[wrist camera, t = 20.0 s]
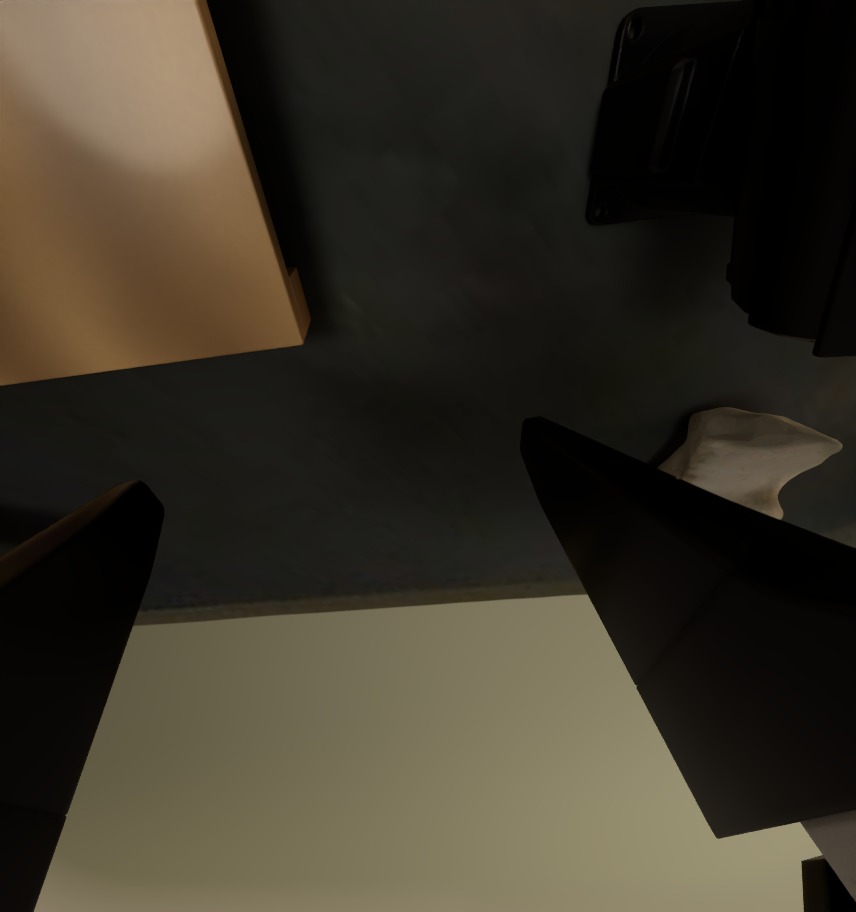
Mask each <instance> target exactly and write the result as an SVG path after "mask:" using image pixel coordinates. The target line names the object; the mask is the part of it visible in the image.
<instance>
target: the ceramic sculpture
mask: <svg viewBox="0 0 856 912" xmlns="http://www.w3.org/2000/svg"><path fill="white" fill-rule="evenodd" d="M841 449H842V444H841V443H840V442H839V441H838V440H836V439H833V438H831V437H828V436H826V435H824V434H822V433H820V432H817V431H815V430H813V429H811V428H809V427H806V426H804V425H801V424H799V423H797V422H795V421H792V420H790V419H788V418H786V417H784V416H776V415H771V414H762V413H752V412H748V411H744V410H740V409H736V408H731V407H721V408H715V409H711V410H707V411H701V412H697V413H694V414H693V415H692V416H691V417H690V420H689V424H688V435H687V439H686V441H685V442H684V444H683V445H681V446H680V447H679V448H678V449H677V450H676V451H675V452H674V453H673V454H672V455H671V456H670V457H669V458H668V459H667V460H666V461H664V462H663V463H662V464H661V465H660V466H658V467H657V469H660V470H662V471H664V472H666V473H669V474H671V475H673V476H675V477H676V478H677V479H682V480H684V481H687V482H689V483H691V484H693V485H695V486H698V487H700V488H702V489H705V490H707V491H709V492H712V493H714V494H716V495H719V496H721V497H723V498H726V499H728V500H731V501H733V502H736V503H738V504H741V505H743V506H746V507H748V508H751V509H753V510H756V511H759V512H761V513H764V514H766V515H769V516H772V517H774V518H777V519H779V520H781V519H782V517H783V510H782V508H781V506H780V504H779V502H778V498H777V496H778V493H779V491H780V489H781V488H782V486H783V485H784V484H785V483H787V482H788V481H789V480H790V479H792V478H793V477H795V476H796V475H798V474H799V473H801V472H803V471H806V470H808V469H810V468H812V467H815V466H817V465H819V464H821V463H822V462H823V461H824V460H825V459H827V458H828V457H829V456H830V455H832V454H835V453H837V452H839V451H840V450H841Z"/></svg>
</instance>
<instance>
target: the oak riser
mask: <svg viewBox="0 0 856 912" xmlns="http://www.w3.org/2000/svg"><path fill="white" fill-rule="evenodd" d="M310 321H311V317H310V314H309V310H308V306H307V303H306V299H305V296H304V292H303V289H302V285H301V282H300V278H299V274H298V271H297V268H296V267H291V268H286V266H285V263H284V259H283V256H282V253H281V249H280V246H279V243H278V239H277V236H276V233H275V229H274V226H273V223H272V219H271V216H270V213H269V209H268V206H267V202H266V199H265V196H264V192H263V189H262V186H261V182H260V179H259V176H258V172H257V169H256V166H255V162H254V159H253V156H252V152H251V149H250V145H249V142H248V139H247V135H246V132H245V129H244V125H243V122H242V119H241V115H240V112H239V109H238V105H237V102H236V99H235V95H234V92H233V88H232V85H231V82H230V78H229V75H228V72H227V68H226V65H225V62H224V58H223V55H222V52H221V48H220V45H219V42H218V38H217V35H216V32H215V28H214V25H213V21H212V18H211V15H210V11H209V8H208V5H207V1H206V0H0V386H2V385H9V384H17V383H24V382H31V381H39V380H46V379H53V378H61V377H68V376H76V375H83V374H90V373H98V372H105V371H113V370H120V369H127V368H135V367H142V366H150V365H157V364H164V363H172V362H179V361H186V360H194V359H201V358H209V357H216V356H223V355H231V354H238V353H246V352H253V351H260V350H268V349H275V348H282V347H290V346H297V345H302V344H303V343H304V340H305V336H306V334H307V331H308V328H309V324H310Z"/></svg>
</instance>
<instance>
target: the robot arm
mask: <svg viewBox="0 0 856 912" xmlns="http://www.w3.org/2000/svg"><path fill="white" fill-rule="evenodd" d="M631 23H634V24H635V27H636V33H635V35H634V38H633V39H630V37H629V28H630V25H631ZM591 171H592V174H593V175H592V181H591V187H590V193H589V199H588V205H587V211H586V218H587V221H588V222H589V223H591V224H597V225H600V224H609V223H617V222H626V221H635V220H643V219H652V218H660V217H669V216H677V215H686V214H694V213H700V214H710V215H720V216H730V217H735V219H734V230H733V241H732V252H731V262H730V263H729V264H728V265H727V271H726V280H727V281H728V282H729V283H730V284H731V299H732V300H733V301H734V302H735V303H736V304H737V305H738V306H739V307H740V308H741V309H742V310H743V311H744V312H746V313H747V314H749V317H748V324H750V325H751V326H753V327H756V328H758V329H761V330H764V331H766V332H769V333H772V334H775V335H778V336H783V337H789V338H794V339H800V340H805V341H811V342H815V344H814V348H813V352H812V353H813V355H814V356H817V357H840V356H856V0H742V1H732V2H717V3H703V4H688V5H673V6H658V7H643V8H638V9H635V10H633V11H632V12H630V13H628V14H627V15H626V16H625V17H624V18H623V19H622V21H621V23H620V24H619V27H618V30H617V34H616V39H615V45H614V51H613V57H612V63H611V69H610V75H609V81H608V87H607V88H606V89H605V91H604V93H603V97H602V103H601V109H600V115H599V121H598V127H597V133H596V140H595V146H594V152H593V158H592V164H591ZM599 206H601V213H600V215H599V216H598V217H596V210H597V208H598V207H599ZM520 451H521V455H522V458H523V460H524V463H525V466H526V468H527V471H528V473H529V476H530V479H531V481H532V484H533V487H534V489H535V492H536V495H537V497H538V500H539V502H540V504H541V506H542V508H543V510H544V512H545V514H546V516H547V518H548V520H549V522H550V524H551V526H552V528H553V530H554V531H555V533H556V535H557V537H558V539H559V541H560V543H561V545H562V547H563V549H564V550H565V552H566V554H567V556H568V558H569V560H570V562H571V564H572V566H573V568H574V569H575V571H576V573H577V575H578V577H579V579H580V581H581V583H582V585H583V587H584V588H585V590H586V592H587V594H588V596H589V598H590V600H591V602H592V604H593V605H594V607H595V609H596V611H597V613H598V615H599V617H600V619H601V621H602V623H603V625H604V626H605V628H606V630H607V632H608V634H609V636H610V638H611V640H612V642H613V644H614V645H615V647H616V649H617V651H618V653H619V655H620V657H621V659H622V661H623V662H624V664H625V666H626V668H627V670H628V672H629V674H630V676H631V678H632V680H633V682H634V683H635V685H637V690H638V691H639V694H640V695H641V697H642V699H643V701H644V703H645V705H646V707H647V709H648V711H649V713H650V714H651V716H652V718H653V720H654V722H655V724H656V726H657V727H658V730H659V732H660V733H661V735H662V737H663V739H664V741H665V743H666V745H667V747H668V749H669V750H670V752H671V754H672V756H673V758H674V760H675V762H676V764H677V766H678V767H679V770H680V771H681V773H682V775H683V777H684V779H685V781H686V783H687V785H688V787H689V788H690V790H691V792H692V794H693V796H694V798H695V800H696V802H697V804H698V805H699V807H700V809H701V811H702V813H703V815H704V817H705V819H706V821H707V823H708V824H709V826H710V828H711V830H712V831H713V833H714V835H715V836H716V838H718V839H720V838H724V837H729V836H733V835H739V834H743V833H748V832H753V831H758V830H763V829H767V828H772V827H777V826H782V825H787V824H791V823H796V822H801V824H802V825H803V827H804V828H805V830H806V831H807V833H808V834H809V835H810V837H811V838H812V840H813V841H814V843H815V844H816V845H817V847H818V848H819V849H820V851H821V853H822V854H823V855H822V856H818V857H815V858H811V859H807V860H804V861H802V881H803V902H804V912H856V548H854V547H851V546H848V545H845V544H842V543H840V542H837V541H835V540H832V539H829V538H827V537H824V536H821V535H819V534H816V533H814V532H811V531H808V530H806V529H803V528H800V527H798V526H795V525H793V524H790V523H787V522H785V521H782V520H779V519H777V518H774V517H772V516H769V515H766V514H764V513H761V512H759V511H756V510H753V509H751V508H748V507H746V506H743V505H741V504H738V503H736V502H733V501H731V500H728V499H726V498H723V497H721V496H719V495H716V494H714V493H712V492H709V491H707V490H705V489H702V488H700V487H698V486H695V485H693V484H691V483H689V482H687V481H684V480H682V479H677V478H676V477H675V476H673V475H671V474H669V473H666V472H664V471H662V470H660V469H657V468H655V467H653V466H651V465H648V464H646V463H644V462H642V461H639V460H637V459H635V458H633V457H631V456H628V455H626V454H624V453H622V452H619V451H617V450H615V449H613V448H610V447H608V446H606V445H604V444H601V443H599V442H597V441H595V440H592V439H590V438H588V437H586V436H584V435H581V434H579V433H577V432H575V431H572V430H570V429H568V428H566V427H563V426H561V425H559V424H557V423H554V422H552V421H550V420H548V419H545V418H543V417H540V416H538V417H532V418H526V419H525V420H524V421H523V424H522V433H521V442H520ZM163 519H164V507H163V505H162V503H161V502H160V501H159V500H158V498H157V497H156V496H155V495H154V493H153V492H152V491H151V490H150V488H149V487H148V486H147V485H146V484H145V483H144V482H142V481H131V482H124V483H120V484H117V485H116V486H114V487H112V488H111V489H109V490H108V491H106V492H104V493H103V494H101V495H99V496H98V497H96V498H95V499H93V500H91V501H90V502H88V503H87V504H85V505H83V506H82V507H80V508H78V509H77V510H75V511H74V512H72V513H70V514H69V515H67V516H66V517H64V518H62V519H61V520H59V521H57V522H56V523H54V524H53V525H51V526H49V527H48V528H46V529H44V530H43V531H41V532H40V533H38V534H36V535H35V536H33V537H32V538H30V539H28V540H27V541H25V542H23V543H22V544H20V545H19V546H17V547H15V548H14V549H12V550H11V551H9V552H7V553H6V554H4V555H2V556H1V557H0V912H34V909H35V906H36V903H37V900H38V898H39V895H40V892H41V889H42V886H43V883H44V880H45V878H46V875H47V872H48V869H49V866H50V863H51V860H52V857H53V854H54V852H55V849H56V846H57V843H58V840H59V837H60V834H61V831H62V829H63V826H64V823H65V820H66V816H65V815H66V814H67V813H68V810H69V808H70V805H71V802H72V799H73V796H74V793H75V790H76V788H77V785H78V782H79V779H80V776H81V773H82V770H83V767H84V764H85V762H86V759H87V756H88V753H89V750H90V747H91V745H92V742H93V739H94V736H95V732H96V730H97V727H98V725H99V722H100V719H101V716H102V713H103V710H104V707H105V705H106V702H107V699H108V696H109V693H110V690H111V687H112V684H113V682H114V679H115V676H116V673H117V670H118V667H119V664H120V661H121V658H122V656H123V653H124V650H125V647H126V644H127V641H128V638H129V636H130V632H131V630H132V627H133V624H134V621H135V619H136V616H137V613H138V610H139V607H140V604H141V601H142V599H143V596H144V593H145V590H146V587H147V584H148V581H149V578H150V575H151V571H152V567H153V563H154V559H155V555H156V550H157V546H158V541H159V537H160V532H161V528H162V523H163Z"/></svg>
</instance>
